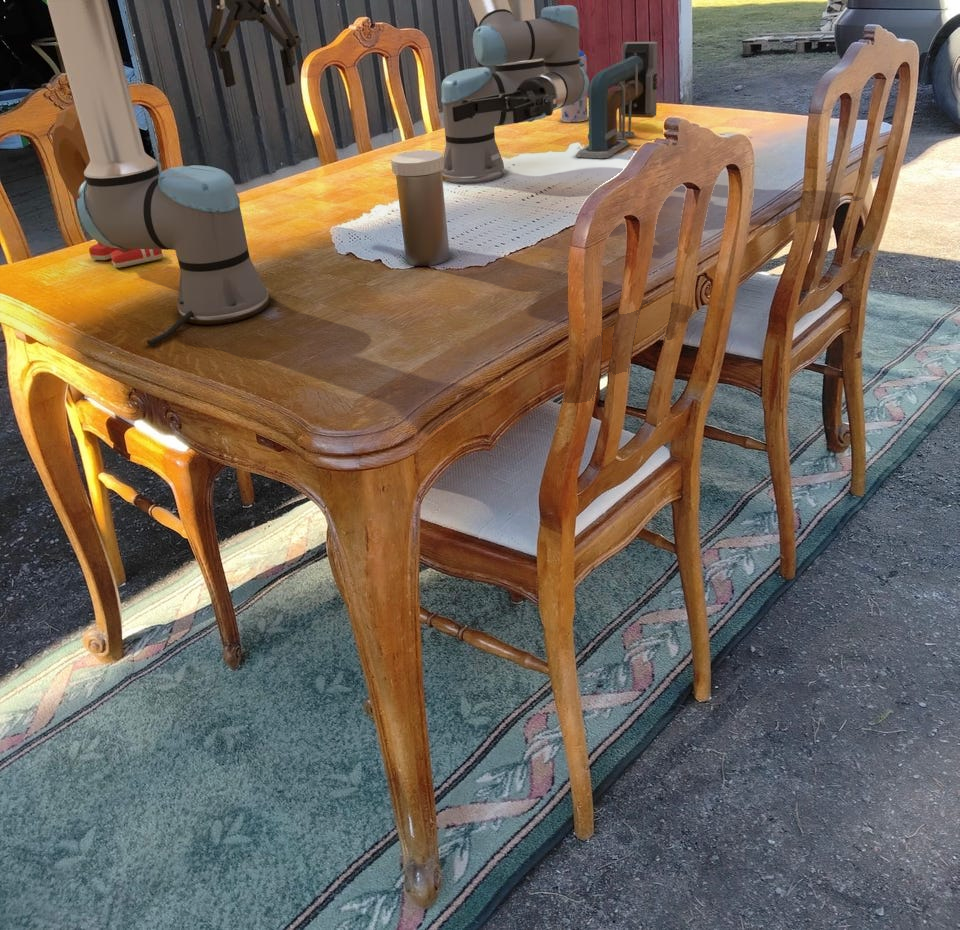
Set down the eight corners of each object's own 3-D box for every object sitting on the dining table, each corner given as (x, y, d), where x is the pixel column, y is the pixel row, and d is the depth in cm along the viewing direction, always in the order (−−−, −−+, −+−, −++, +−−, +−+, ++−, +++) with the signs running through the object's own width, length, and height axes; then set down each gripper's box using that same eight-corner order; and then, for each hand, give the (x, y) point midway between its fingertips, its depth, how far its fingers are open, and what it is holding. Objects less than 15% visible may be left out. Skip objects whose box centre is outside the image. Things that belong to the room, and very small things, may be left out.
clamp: (606, 158, 236) (606, 65, 225) (573, 157, 239) (571, 65, 229) (656, 127, 261) (657, 41, 250) (625, 125, 265) (625, 42, 254)
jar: (456, 252, 183) (447, 154, 174) (438, 267, 177) (428, 165, 167) (417, 250, 186) (407, 153, 177) (398, 264, 180) (386, 164, 170)
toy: (175, 259, 192) (137, 100, 176) (129, 274, 186) (85, 111, 170) (121, 242, 205) (81, 93, 190) (77, 256, 199) (31, 103, 183)
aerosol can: (559, 122, 275) (557, 47, 265) (562, 117, 282) (559, 42, 272) (587, 121, 274) (585, 45, 263) (589, 115, 280) (587, 41, 270)
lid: (452, 163, 175) (451, 150, 174) (430, 177, 168) (429, 163, 166) (407, 162, 178) (405, 149, 177) (383, 175, 171) (381, 162, 170)
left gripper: (306, -38, 185) (323, 79, 195) (192, -31, 192) (215, 83, 202) (289, -35, 178) (307, 86, 189) (172, -27, 186) (196, 89, 196)
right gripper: (595, 115, 193) (542, 137, 178) (490, 113, 206) (432, 133, 191) (594, 75, 189) (540, 94, 174) (487, 76, 202) (428, 93, 187)
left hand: (260, 85), depth 196 cm, fingers open, 13 cm apart
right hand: (484, 115), depth 182 cm, fingers open, 13 cm apart
